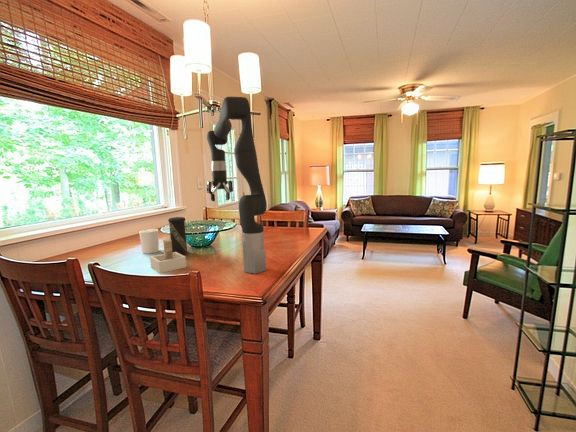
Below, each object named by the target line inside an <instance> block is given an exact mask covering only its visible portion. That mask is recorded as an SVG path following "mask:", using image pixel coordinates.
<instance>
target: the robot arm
mask: <svg viewBox="0 0 576 432" xmlns="http://www.w3.org/2000/svg"><path fill="white" fill-rule="evenodd" d="M251 114H252V113H251V105H250V102H249V99H248V98H247V97H244V96H226V97H225V98H223V100H222V104H221V107H220V111H219V116H218V120H217V122H216V124H215V126H214V129H213V130H209V131H208V132H207V134H206V140H207V144H208V146H209V149H210V153H211V155H210V156H211V157H210V158H211V179H212V181H206V193H207V194H209V195H210V200H211V202H216V195H215V193H216V192H217V190H223V191H224V192H225V200H226V201H229V200H230V199H231V195H230V194H231V193H232V192H234V187H233V180H228V179H227V178H228V177H227V176H228V174H227V161H226V152H225V150H224V149H221V148H218V147H217V146H218V145H219V146H223V145H224V146H225V145H226V144H227V143H228V138H229V137H228V136H229V134H230V132H231V131H232V121H231V120H233V121H234V120H240V121H241V130H240V134H239V137H238V139H237V140H236V143H235V145H234V148H233V149H234V151H233V153H234V158H235V164H236V167H237V169H238V171H239V173H240V174H241V175H242V176H243V178H244V179H245V181H246V182H247V184H248V187H249V191H250V194H244V195H242V196H241V197H240V198H239V201H238V214H239V223H240V227H241V232H242V233H241V234H242V235H241V236H242V237H241V238H242V257H243V258H242V261H243V272H245V273H248V274H253V275H254V274H255V275H256V274H259V273H262V272H266V271H267V255H266V249H265V236H264V233H265V231H264V225H263V224H262V223H258V222H256V219H255V216H261V215H264V214H265V213H266V212H267V199H266V193H265V190H264V188H263V183H262V178H261V174H260V169H259V162H258V155H257V150H256V149H257V148H256V145H255V139H254V134H253V125H252V124H253V123H252V115H251ZM227 185H228V186H227Z"/></svg>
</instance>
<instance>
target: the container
mask: <svg viewBox="0 0 576 432" xmlns="http://www.w3.org/2000/svg"><path fill="white" fill-rule="evenodd" d="M167 221H168V224H169V236H170V237H169V239H170V240H171V242H172V252H177V253H179V254H181V255H183V256H185V255H187V254H188V247H187V246H188V245H187V244H188V243H187V235H186V234H187V233H186V223H185V221H186V218H185V217H184V216H175V217H169V218H168V219H167Z"/></svg>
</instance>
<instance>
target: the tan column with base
mask: <svg viewBox="0 0 576 432" xmlns="http://www.w3.org/2000/svg"><path fill="white" fill-rule="evenodd" d="M163 251H164V254H165V260H168V259H173V254H172V242H171V239H170V238H169V239H167V238H166V239H163Z"/></svg>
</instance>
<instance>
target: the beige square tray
mask: <svg viewBox="0 0 576 432" xmlns="http://www.w3.org/2000/svg"><path fill="white" fill-rule="evenodd" d="M172 254H173V259H168V260H165V253H163V254H157V255H151V256H149V260H150V261H149V262H150V268H151V269H153V270H155V271H156V272H158V273H159V274H162V273H165V272H166V273H167V272H171V271H175V270H179V269H184V268H187V256H185V255H181V254H179V253H177V252H172Z"/></svg>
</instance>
